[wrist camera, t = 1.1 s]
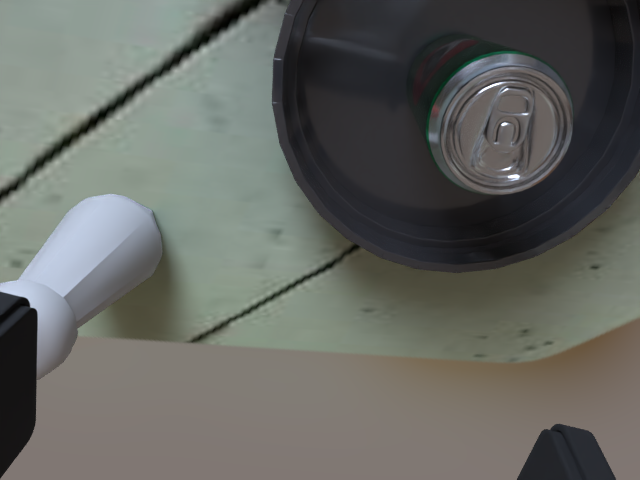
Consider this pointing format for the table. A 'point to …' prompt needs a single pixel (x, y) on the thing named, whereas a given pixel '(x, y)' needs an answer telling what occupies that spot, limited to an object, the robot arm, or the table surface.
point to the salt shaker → (86, 270)
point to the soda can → (489, 113)
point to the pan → (406, 139)
